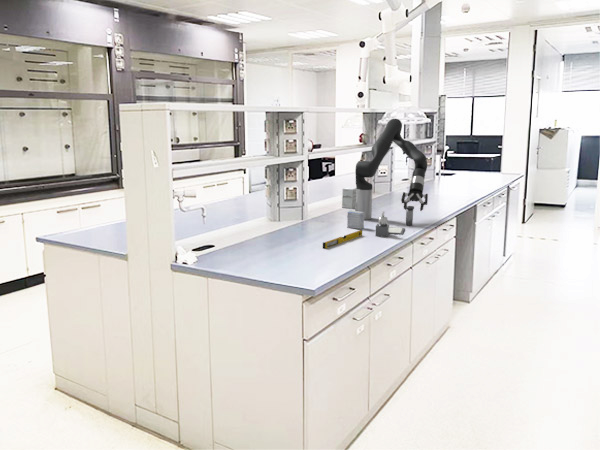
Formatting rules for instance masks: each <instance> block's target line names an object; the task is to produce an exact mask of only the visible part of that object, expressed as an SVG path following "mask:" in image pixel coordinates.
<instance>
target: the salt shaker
mask: <svg viewBox="0 0 600 450" xmlns="http://www.w3.org/2000/svg"><path fill="white" fill-rule="evenodd" d="M414 210H415V206H414V205H407V206H406V211H405V226H407V227H412V226H413V220H414Z"/></svg>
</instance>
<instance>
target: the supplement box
mask: <svg viewBox="0 0 600 450" xmlns="http://www.w3.org/2000/svg"><path fill="white" fill-rule="evenodd" d="M341 196H342V197H341V203H342V204H341V207H342V208H346V209H355V202H356V187H343V188H342V194H341Z"/></svg>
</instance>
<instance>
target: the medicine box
mask: <svg viewBox="0 0 600 450" xmlns="http://www.w3.org/2000/svg"><path fill="white" fill-rule="evenodd" d="M346 220H347V221H346V222H347V223H346V225H347V229H358V230H362V229H363V228H365V220H364V212H359V211H355V210H349V211H347V219H346Z"/></svg>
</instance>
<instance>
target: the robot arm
mask: <svg viewBox="0 0 600 450" xmlns="http://www.w3.org/2000/svg"><path fill="white" fill-rule="evenodd" d="M402 129H403V123H402V121H401V119H399V118H392V119H390V120H389V121H388V122H387V123H386V125H385V128H384V130H383V131H382V133H381V134H380V136H379V137H378V138H377V139H376V141H375V142H374V143H373V145H372V146H371V155H372V159H371V160H370V161H367V160H359V161H357V162H356V164H355V186H356V187H355V188H356V202H355V208H354V211H359V212H364V221H365V220H366V221H367V220H371V219H372V217H373V216H372V215H373V214H372V212H373V184H372V183H371V182H369V181H367V179H366V178H370V179H371V178H373V177H374V176H375V175H376V173H377V172H378V168H379V167H380V165H381V163H382V161H383V160H384V158H385V157H386V156H387V154H388V152H389V151H390V148H391V146H392V143H394V144H395V145H397V146H398V148H400V149H401V151H403V152H404V153H405V155H406V156H407V157H408V158H409V159H410V160H413V161H414V169H413V172H412V175H411V179H410V183H409V190H408V192H407V193H406V192H404V191H403V192H402V196H401V200H400V201H401V204H403V209H404V210H407V209H406V206H408V204H409V203H410V202H416V203H417V202H419V204H420V208H419V209H420V212H422V211H423V210H424V206H427V205H428V201H429V200H428V198H429V196H428V193H425V194H424V187H425V176H426V173H427V169H428V161H427V160H428V159H427V156H426V154H424V153H423V152H422V151H421V150H420V149H418V148H417V146H416V145H415V144H414V142H412V141H409V140H406V139H404V138H403V136H402V135H401V132H402ZM406 197H407V198H406ZM423 198H424V200H423Z"/></svg>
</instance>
